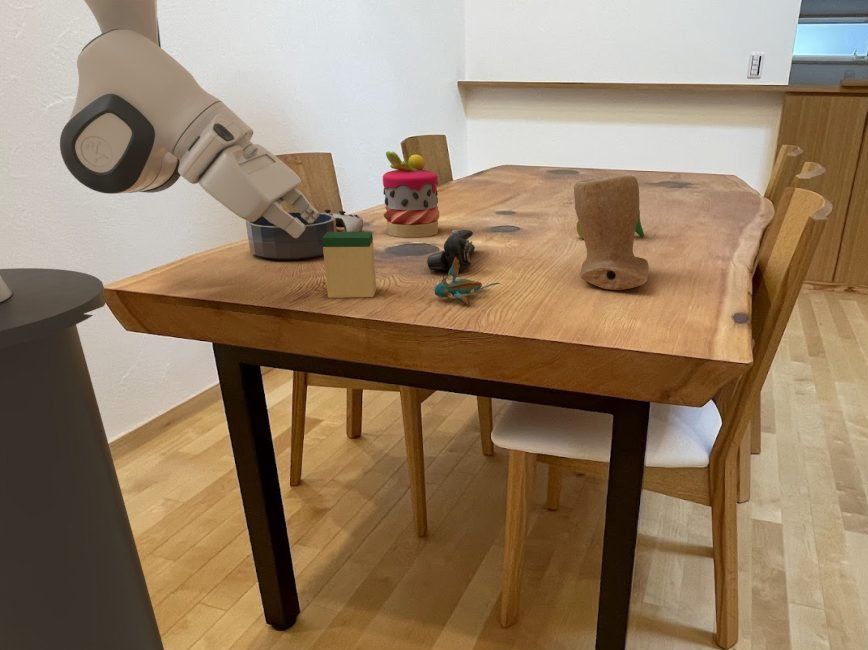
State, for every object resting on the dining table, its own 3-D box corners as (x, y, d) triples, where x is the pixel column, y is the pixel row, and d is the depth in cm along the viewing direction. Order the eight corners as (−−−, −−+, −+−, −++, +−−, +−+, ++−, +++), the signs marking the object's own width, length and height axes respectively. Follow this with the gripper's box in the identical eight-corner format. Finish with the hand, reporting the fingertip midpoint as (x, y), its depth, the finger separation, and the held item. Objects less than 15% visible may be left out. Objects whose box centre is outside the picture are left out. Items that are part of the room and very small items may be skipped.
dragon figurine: (447, 277, 94) (424, 267, 87) (494, 260, 92) (474, 249, 85) (459, 320, 94) (436, 315, 86) (506, 305, 92) (487, 298, 84)
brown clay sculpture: (575, 264, 107) (581, 167, 101) (650, 269, 104) (660, 170, 98) (560, 289, 93) (564, 179, 87) (645, 296, 91) (656, 183, 85)
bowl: (252, 264, 104) (247, 229, 101) (249, 245, 116) (244, 214, 113) (344, 257, 109) (341, 224, 106) (331, 240, 121) (328, 209, 118)
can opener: (467, 277, 99) (467, 240, 96) (422, 275, 99) (421, 237, 97) (490, 251, 115) (490, 218, 112) (451, 249, 115) (450, 216, 113)
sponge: (328, 297, 88) (321, 237, 85) (332, 289, 92) (327, 231, 89) (373, 297, 89) (369, 237, 85) (376, 289, 92) (372, 231, 89)
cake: (418, 224, 135) (415, 147, 129) (450, 232, 128) (449, 151, 122) (374, 231, 129) (369, 150, 123) (406, 240, 122) (401, 154, 116)
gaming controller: (297, 229, 124) (310, 198, 126) (314, 248, 129) (325, 218, 131) (350, 234, 120) (362, 202, 123) (364, 253, 126) (375, 222, 128)
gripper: (228, 157, 92) (309, 228, 96) (172, 176, 73) (275, 261, 78) (256, 123, 90) (337, 196, 95) (206, 132, 71) (309, 223, 76)
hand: (309, 226), depth 86 cm, fingers open, 8 cm apart
